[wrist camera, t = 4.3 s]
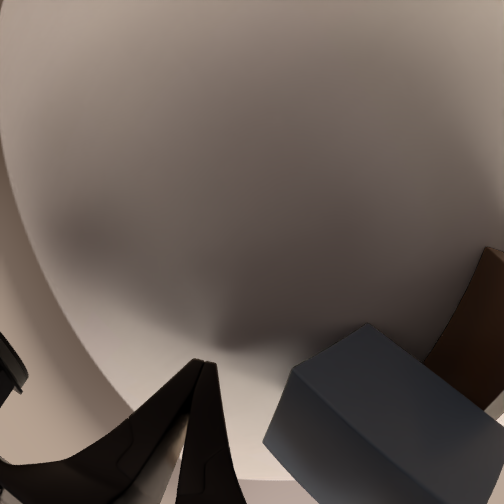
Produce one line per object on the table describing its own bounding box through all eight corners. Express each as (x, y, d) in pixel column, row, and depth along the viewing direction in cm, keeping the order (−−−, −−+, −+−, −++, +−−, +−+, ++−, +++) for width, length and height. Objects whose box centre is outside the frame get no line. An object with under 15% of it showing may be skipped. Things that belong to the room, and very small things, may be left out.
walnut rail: (361, 435, 12) (367, 495, 9) (485, 245, 7) (555, 316, 3) (391, 433, 12) (399, 489, 8) (514, 255, 7) (575, 317, 3)
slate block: (265, 398, 11) (247, 562, 4) (291, 313, 8) (283, 578, 2) (406, 402, 10) (432, 533, 4) (460, 327, 8) (529, 486, 2)
